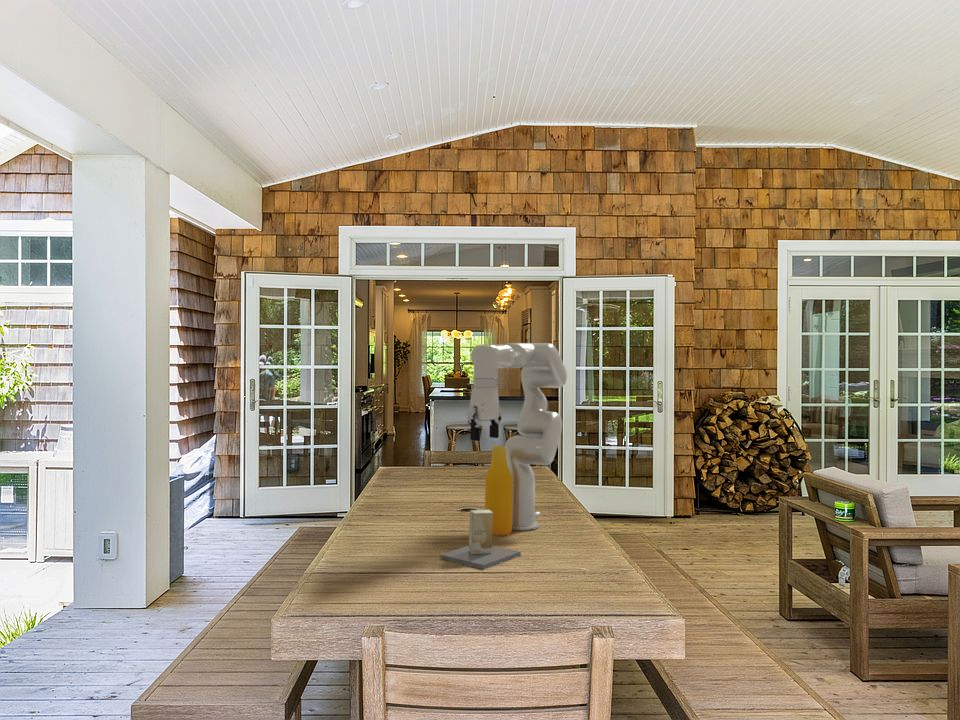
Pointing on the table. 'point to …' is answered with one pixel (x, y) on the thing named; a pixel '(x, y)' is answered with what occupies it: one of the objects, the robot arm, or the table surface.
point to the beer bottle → (499, 492)
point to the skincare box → (480, 531)
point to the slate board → (480, 556)
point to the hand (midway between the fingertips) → (484, 438)
